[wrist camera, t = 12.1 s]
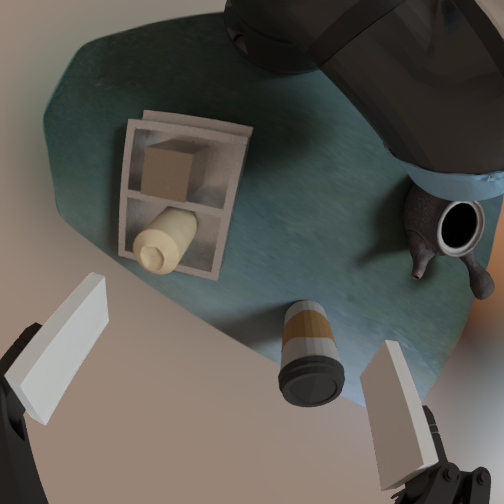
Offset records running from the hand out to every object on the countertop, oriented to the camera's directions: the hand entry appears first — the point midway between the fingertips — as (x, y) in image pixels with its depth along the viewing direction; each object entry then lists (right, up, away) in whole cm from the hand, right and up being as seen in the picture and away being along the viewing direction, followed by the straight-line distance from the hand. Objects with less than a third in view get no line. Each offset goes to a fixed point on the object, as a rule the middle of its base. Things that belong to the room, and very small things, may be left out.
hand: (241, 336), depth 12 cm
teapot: (+28, +7, +24) cm, 38 cm away
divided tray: (-8, +12, +25) cm, 29 cm away
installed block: (-8, +15, +22) cm, 28 cm away
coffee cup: (+9, -6, +32) cm, 34 cm away
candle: (-9, +8, +26) cm, 29 cm away
